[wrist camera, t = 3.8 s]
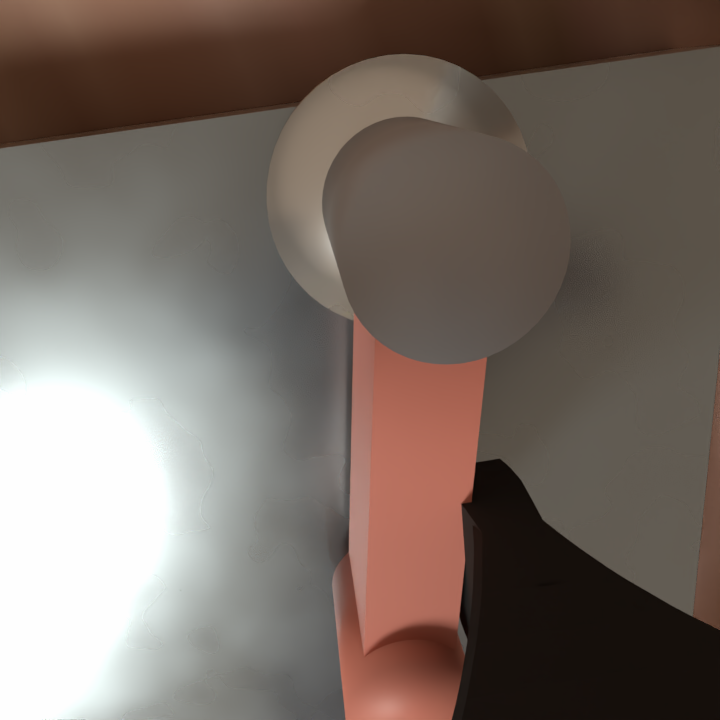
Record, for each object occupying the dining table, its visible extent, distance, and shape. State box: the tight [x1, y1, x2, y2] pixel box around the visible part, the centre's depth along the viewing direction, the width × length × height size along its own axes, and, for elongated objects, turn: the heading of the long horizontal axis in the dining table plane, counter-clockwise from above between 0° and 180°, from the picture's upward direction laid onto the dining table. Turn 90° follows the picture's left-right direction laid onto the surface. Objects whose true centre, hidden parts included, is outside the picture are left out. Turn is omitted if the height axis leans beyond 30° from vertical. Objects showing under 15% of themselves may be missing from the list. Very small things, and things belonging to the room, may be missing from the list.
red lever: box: [322, 116, 571, 720], centre depth 9 cm, size 9×2×3 cm, turn 179°
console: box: [0, 45, 720, 720], centre depth 12 cm, size 14×26×4 cm, turn 97°
